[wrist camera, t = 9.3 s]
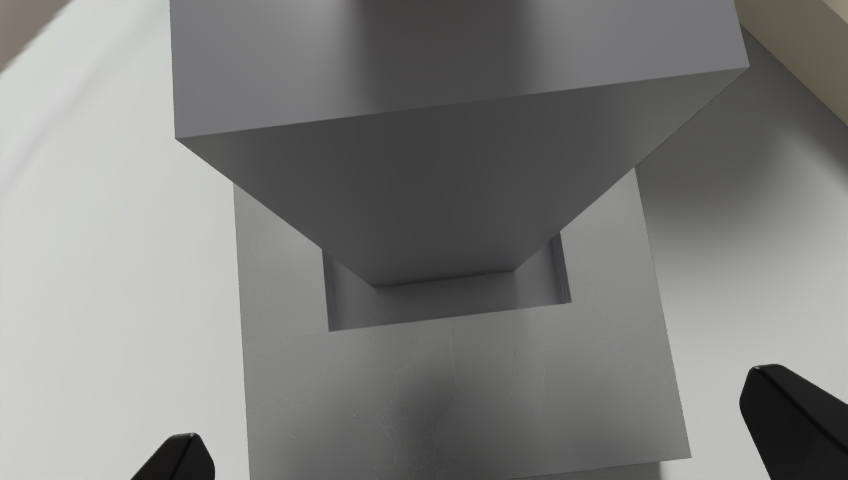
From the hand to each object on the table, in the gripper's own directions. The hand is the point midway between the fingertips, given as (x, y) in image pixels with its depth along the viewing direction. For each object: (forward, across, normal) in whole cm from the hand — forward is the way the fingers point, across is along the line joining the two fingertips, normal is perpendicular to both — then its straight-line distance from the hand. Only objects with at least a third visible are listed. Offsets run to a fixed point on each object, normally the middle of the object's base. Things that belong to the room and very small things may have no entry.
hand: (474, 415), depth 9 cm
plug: (+9, 0, +2) cm, 9 cm away
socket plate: (+10, 0, +2) cm, 10 cm away
